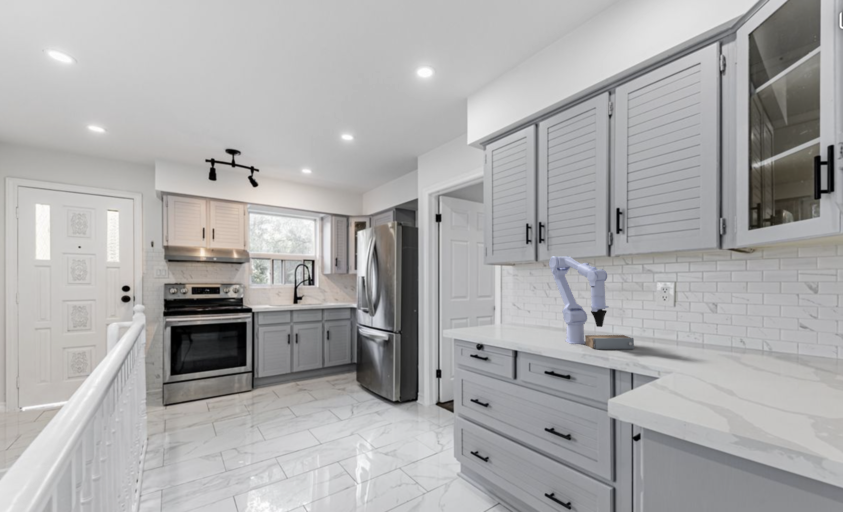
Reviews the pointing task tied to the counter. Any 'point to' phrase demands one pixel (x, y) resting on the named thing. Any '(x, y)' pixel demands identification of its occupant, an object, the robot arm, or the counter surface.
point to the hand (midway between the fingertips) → (599, 326)
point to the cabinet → (590, 337)
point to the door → (613, 343)
